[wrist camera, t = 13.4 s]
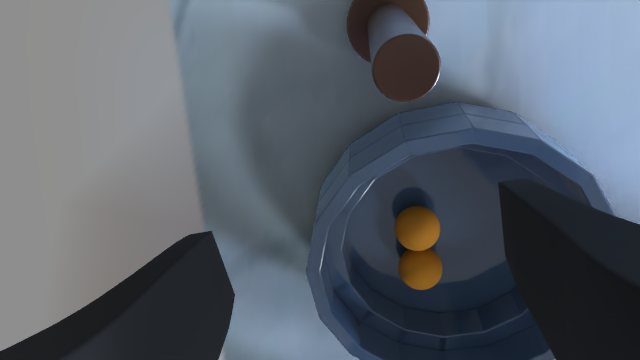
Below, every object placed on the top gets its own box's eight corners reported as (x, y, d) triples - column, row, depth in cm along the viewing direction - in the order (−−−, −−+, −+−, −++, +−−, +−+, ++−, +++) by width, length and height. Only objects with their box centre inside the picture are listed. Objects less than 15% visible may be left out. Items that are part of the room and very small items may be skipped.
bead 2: (432, 290, 21) (433, 243, 22) (390, 287, 22) (392, 243, 23) (448, 292, 23) (448, 248, 23) (407, 289, 24) (409, 248, 24)
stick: (434, -16, 19) (491, 4, 11) (419, 66, 20) (460, 141, 12) (352, -25, 19) (346, -11, 11) (342, 57, 21) (331, 126, 12)
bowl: (575, 73, 20) (622, 99, 16) (581, 309, 25) (619, 370, 21) (288, 131, 22) (274, 165, 18) (344, 339, 27) (342, 399, 23)
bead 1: (388, 248, 21) (389, 236, 23) (433, 262, 21) (431, 249, 23) (401, 205, 21) (402, 196, 23) (447, 218, 21) (444, 209, 23)
